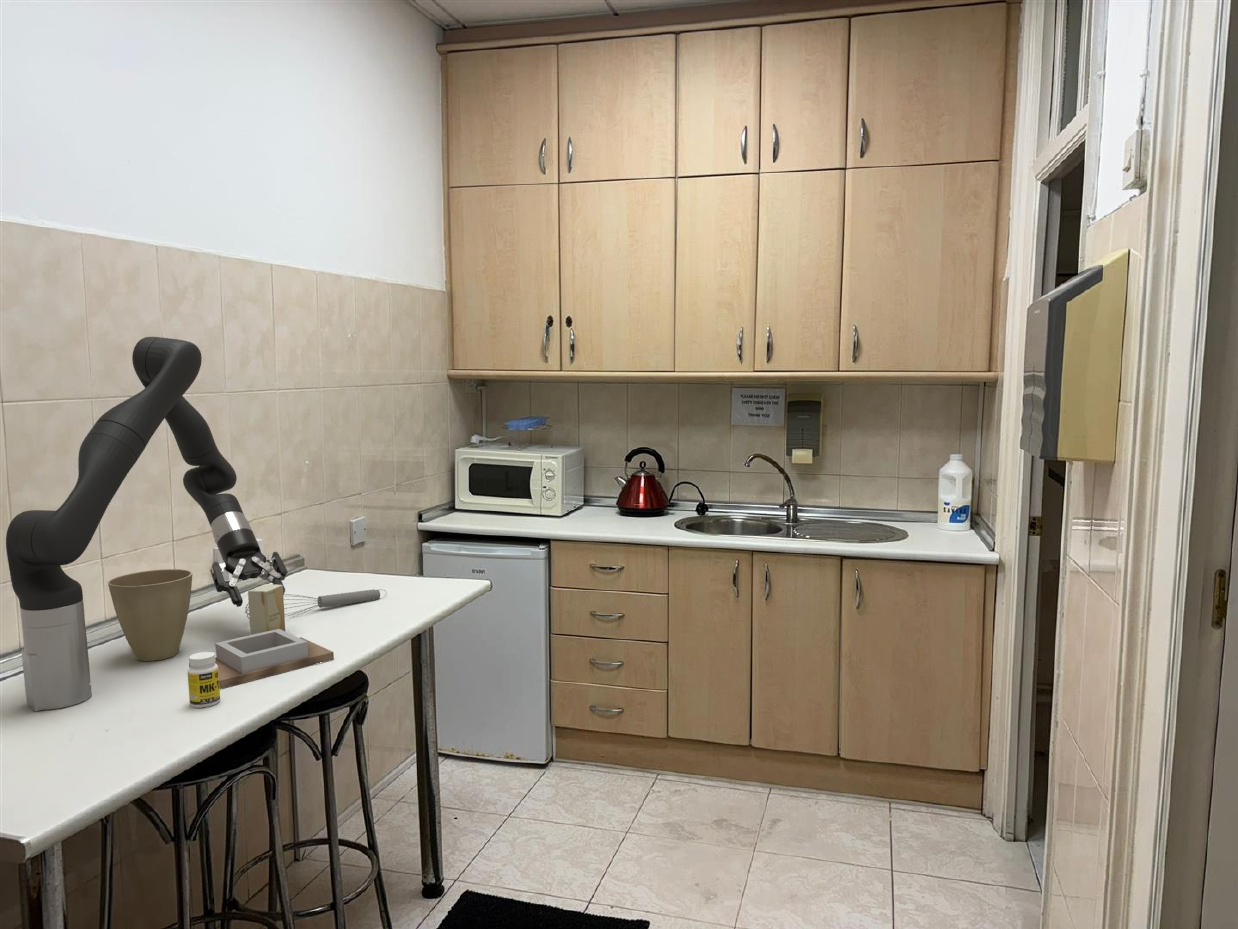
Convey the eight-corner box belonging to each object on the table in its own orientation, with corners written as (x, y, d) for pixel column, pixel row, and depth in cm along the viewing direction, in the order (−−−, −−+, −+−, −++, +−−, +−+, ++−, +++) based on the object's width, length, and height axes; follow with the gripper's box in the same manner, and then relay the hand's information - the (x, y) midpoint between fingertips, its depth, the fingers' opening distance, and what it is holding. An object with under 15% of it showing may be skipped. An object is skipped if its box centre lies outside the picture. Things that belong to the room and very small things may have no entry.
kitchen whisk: (392, 600, 222) (391, 574, 222) (251, 630, 200) (249, 602, 199) (380, 595, 227) (379, 570, 226) (241, 625, 205) (239, 597, 204)
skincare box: (270, 651, 184) (265, 591, 182) (250, 650, 185) (246, 591, 183) (287, 641, 190) (283, 583, 189) (268, 640, 191) (264, 583, 190)
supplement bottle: (201, 710, 153) (197, 661, 152) (184, 705, 156) (180, 657, 155) (226, 701, 157) (223, 653, 156) (209, 696, 160) (206, 649, 159)
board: (218, 689, 163) (217, 681, 163) (189, 671, 173) (189, 663, 173) (333, 659, 178) (333, 652, 178) (301, 644, 188) (301, 637, 188)
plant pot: (214, 649, 186) (208, 572, 184) (146, 672, 173) (139, 589, 171) (166, 640, 193) (160, 565, 191) (98, 661, 180) (90, 581, 178)
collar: (242, 673, 166) (241, 657, 166) (216, 658, 175) (215, 643, 175) (308, 657, 175) (307, 641, 175) (280, 643, 184) (279, 628, 184)
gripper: (204, 532, 188) (230, 596, 181) (272, 522, 198) (299, 583, 191) (196, 554, 192) (221, 618, 185) (263, 543, 202) (289, 603, 195)
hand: (261, 600), depth 188 cm, fingers open, 8 cm apart
